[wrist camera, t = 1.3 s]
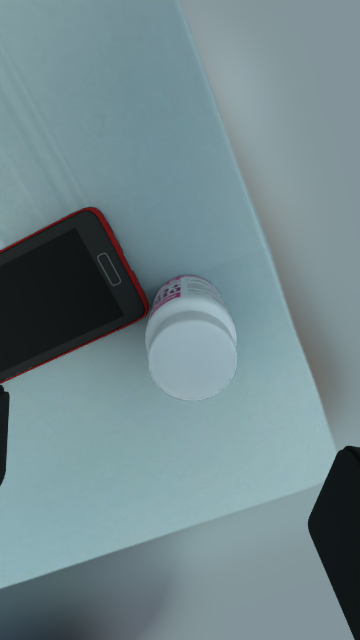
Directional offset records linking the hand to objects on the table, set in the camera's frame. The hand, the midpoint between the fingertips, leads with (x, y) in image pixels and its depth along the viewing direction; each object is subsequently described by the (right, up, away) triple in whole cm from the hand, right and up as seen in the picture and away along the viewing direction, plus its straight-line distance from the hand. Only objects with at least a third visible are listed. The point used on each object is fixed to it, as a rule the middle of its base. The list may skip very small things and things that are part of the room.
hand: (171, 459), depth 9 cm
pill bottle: (+1, +5, +13) cm, 14 cm away
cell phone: (-10, +5, +13) cm, 17 cm away
